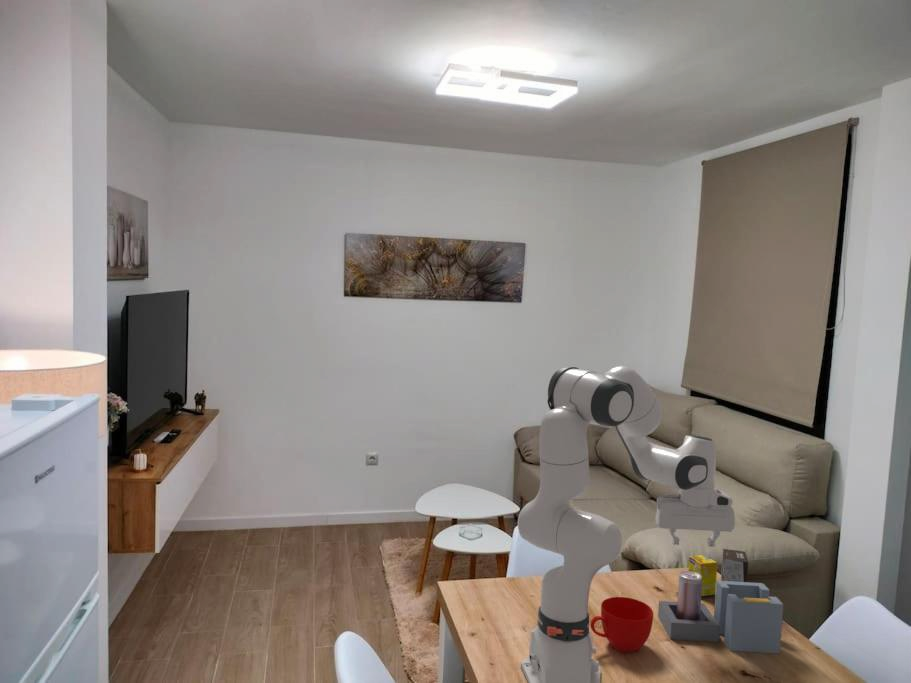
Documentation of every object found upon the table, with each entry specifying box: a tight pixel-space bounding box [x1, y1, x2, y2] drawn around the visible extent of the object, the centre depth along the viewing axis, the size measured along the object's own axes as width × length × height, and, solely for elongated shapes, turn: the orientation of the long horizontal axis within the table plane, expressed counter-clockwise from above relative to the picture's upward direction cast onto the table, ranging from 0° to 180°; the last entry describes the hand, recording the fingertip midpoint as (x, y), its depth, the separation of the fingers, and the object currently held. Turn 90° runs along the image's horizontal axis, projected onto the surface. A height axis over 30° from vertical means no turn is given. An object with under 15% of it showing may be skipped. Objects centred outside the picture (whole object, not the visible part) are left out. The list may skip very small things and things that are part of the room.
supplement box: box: [687, 554, 718, 599], centre depth 203 cm, size 6×6×11 cm
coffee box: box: [720, 548, 749, 582], centre depth 194 cm, size 9×6×16 cm
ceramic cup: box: [589, 596, 654, 654], centre depth 170 cm, size 13×17×10 cm
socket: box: [713, 580, 784, 655], centre depth 176 cm, size 12×12×13 cm
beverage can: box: [676, 570, 702, 621], centre depth 181 cm, size 6×6×15 cm
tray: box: [657, 600, 720, 643], centre depth 181 cm, size 12×12×4 cm
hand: (693, 544), depth 180 cm, fingers open, 8 cm apart
